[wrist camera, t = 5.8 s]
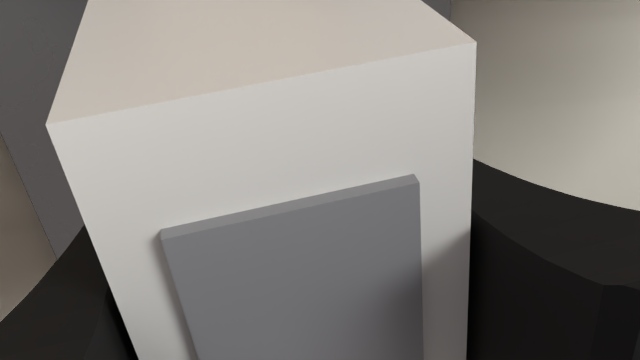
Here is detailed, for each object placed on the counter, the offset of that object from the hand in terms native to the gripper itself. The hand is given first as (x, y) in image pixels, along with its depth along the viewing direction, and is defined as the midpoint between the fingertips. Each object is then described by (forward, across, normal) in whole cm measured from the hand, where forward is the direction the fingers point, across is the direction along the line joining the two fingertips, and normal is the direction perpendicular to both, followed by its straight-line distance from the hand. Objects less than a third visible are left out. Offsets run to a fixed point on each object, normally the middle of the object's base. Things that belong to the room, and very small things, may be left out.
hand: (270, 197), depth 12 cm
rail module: (+2, 0, 0) cm, 2 cm away
